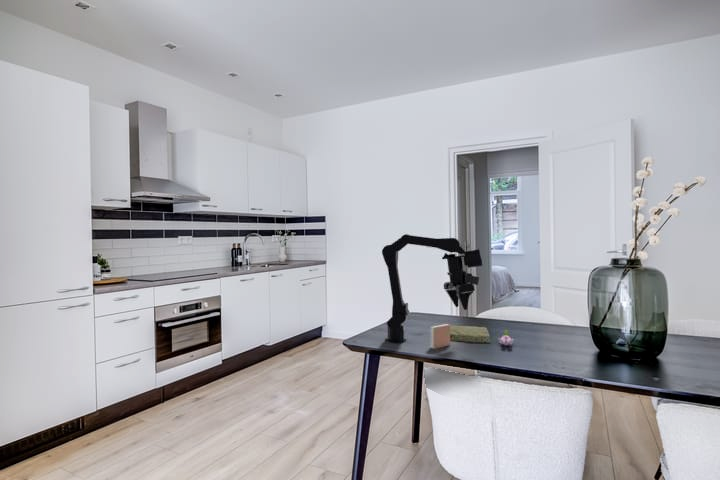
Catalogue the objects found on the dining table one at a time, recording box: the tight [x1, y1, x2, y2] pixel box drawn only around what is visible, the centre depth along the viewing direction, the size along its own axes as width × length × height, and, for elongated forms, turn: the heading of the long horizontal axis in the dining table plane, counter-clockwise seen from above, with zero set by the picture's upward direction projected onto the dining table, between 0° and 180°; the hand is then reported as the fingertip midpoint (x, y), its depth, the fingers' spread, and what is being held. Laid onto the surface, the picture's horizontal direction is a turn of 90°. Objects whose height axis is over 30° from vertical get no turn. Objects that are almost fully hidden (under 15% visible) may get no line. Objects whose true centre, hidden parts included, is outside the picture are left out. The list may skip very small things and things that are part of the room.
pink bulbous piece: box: [497, 329, 515, 346], centre depth 163 cm, size 6×6×15 cm
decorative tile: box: [450, 325, 491, 344], centre depth 176 cm, size 19×20×4 cm
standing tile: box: [429, 323, 451, 349], centre depth 161 cm, size 2×9×8 cm, turn 127°
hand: (461, 308), depth 163 cm, fingers open, 9 cm apart
